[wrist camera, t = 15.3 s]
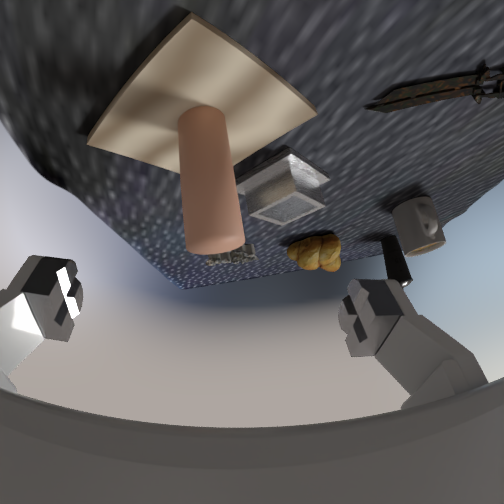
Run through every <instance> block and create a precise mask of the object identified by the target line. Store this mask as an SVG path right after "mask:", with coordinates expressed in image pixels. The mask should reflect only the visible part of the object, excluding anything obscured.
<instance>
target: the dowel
mask: <svg viewBox="0 0 504 504" xmlns="http://www.w3.org/2000/svg"><path fill="white" fill-rule="evenodd" d="M178 143H179V163H180V179H181V193H182V206H183V218H184V230H185V240H186V249H187V250H188V251H189V252H191V253H194V254H218V253H224V252H228V251H231V250H234V249H236V248H239V247H240V246H242V245H243V244H244V243H245V237H244V231H243V225H242V219H241V213H240V206H239V200H238V194H237V188H236V182H235V176H234V170H233V164H232V157H231V151H230V145H229V139H228V133H227V126H226V120H225V116H224V114H223V113H222V112H221V111H220V110H219V109H217V108H214V107H210V106H199V107H194V108H191V109H189V110H187V111H186V112H184V113H183V114H182V115H181V116H180V118H179V120H178Z"/></svg>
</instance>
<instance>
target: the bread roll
mask: <svg viewBox="0 0 504 504" xmlns="http://www.w3.org/2000/svg"><path fill="white" fill-rule="evenodd" d="M340 250H341V244H340V240H339V238H338V237H337V236H336V235H333V234H328V235H324V236H313V237H309V238H307V239H304V240H302V241H298V242H295V243H293V244H291V245H290V246H289V247H288V249H287V255H288V256H289V258H290V259H292V260H295V261H297V263H298V265H299V266H300V267H302V268H303V269H306V270H314V269H316V268H318V267H320V268H322V269H324V270H327V271H331V272H334V271H336V270H338V269H339V267H340V264H341V260H340V256H339V254H340Z"/></svg>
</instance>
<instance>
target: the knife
mask: <svg viewBox="0 0 504 504" xmlns="http://www.w3.org/2000/svg"><path fill="white" fill-rule="evenodd" d="M485 67H486V64H484V65H483V69H482V70H480V71H477V73H476V75H471V76H464V77H457V78H451V79H445V80H439V81H434V82H429V83H424V84H419V85H414V86H409V87H405V88H400V89H396V90H394V91H392V92H391V93H390V94H388V95H387V96H386V97H384V98H383V99H382V100H380V101H379V102H378V103H377V104H376V105H377V106H373V107H369V108H366V109H367V110H372V111H378V112H383V113H388V112H392V111H396V110H400V109H405V108H409V107H413V106H417V105H422V104H426V103H431V102H436V101H441V100H446V99H451V98H456V97H462V96H467V95H472V96H473V98H474V99H475V101H476V102H477V103H478V104H480V103H481V100H482V97H488V98H495V97H497V98H498V99H499V98H502V97H503V98H504V90H503V91H502V84H503V83H504V67H502V68H501V69H500V70H501V71H502V72H503V74H497V75H495V76H493V77H490V76H489V75H490V74H489V73H490V69H489V67H486V69H485ZM501 79H502V80H501ZM493 80H499V82H498V83H497V86H498V85H499V91H495V92H493V93H488V94H485V92H484V91H483V89H481V87H480V86H479V85H482V84H483V82H484V81H493ZM475 84H476V85H475ZM469 85H472V86H469ZM462 86H467V87H462ZM451 88H454V89H451ZM445 89H449V90H445ZM440 90H444V91H440ZM435 91H438V92H435ZM430 92H433V93H430ZM425 93H428V94H425ZM420 94H424V95H420ZM416 95H419V96H416ZM407 97H410V98H407ZM402 98H405V99H402ZM398 99H401V100H398ZM394 100H397V101H394ZM390 101H393V102H390ZM386 102H389V103H386ZM382 103H385V104H382ZM378 104H381V105H378Z"/></svg>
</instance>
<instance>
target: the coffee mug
mask: <svg viewBox="0 0 504 504" xmlns="http://www.w3.org/2000/svg"><path fill="white" fill-rule="evenodd" d="M392 215H393V218H394V222H395V225H396V228H397V231H398V234H399V238H400V241H401V244H402V248H403V251H404V255H405V257H413V256H418V255H421V254H425V253H428V252H430V251H433V250H435V249H437V248H440V247H441V246H443V245H444V244H445V243H446V240H445V237H444V234H443V230H442V227H441V224H440V221H439V219H438V216H437V213H436V210H435V207H434V205H433V202H432V199H431V198H430V197H417V198H414V199H410V200H408V201H405V202H403V203H402V204H400V205H398V206H397V207H395V208H394V209H393V211H392Z"/></svg>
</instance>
